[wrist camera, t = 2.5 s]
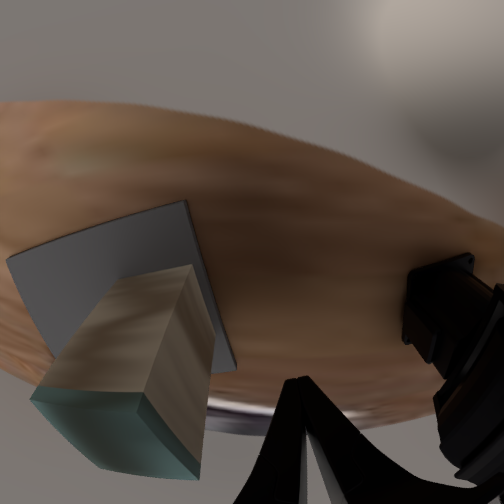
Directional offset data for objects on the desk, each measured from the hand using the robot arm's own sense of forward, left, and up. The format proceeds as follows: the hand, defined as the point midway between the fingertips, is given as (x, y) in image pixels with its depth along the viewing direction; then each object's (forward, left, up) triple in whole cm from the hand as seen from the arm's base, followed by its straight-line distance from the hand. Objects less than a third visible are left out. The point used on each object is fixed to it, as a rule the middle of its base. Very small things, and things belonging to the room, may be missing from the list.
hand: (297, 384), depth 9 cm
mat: (+12, 0, -8) cm, 14 cm away
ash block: (+7, 0, -7) cm, 10 cm away
